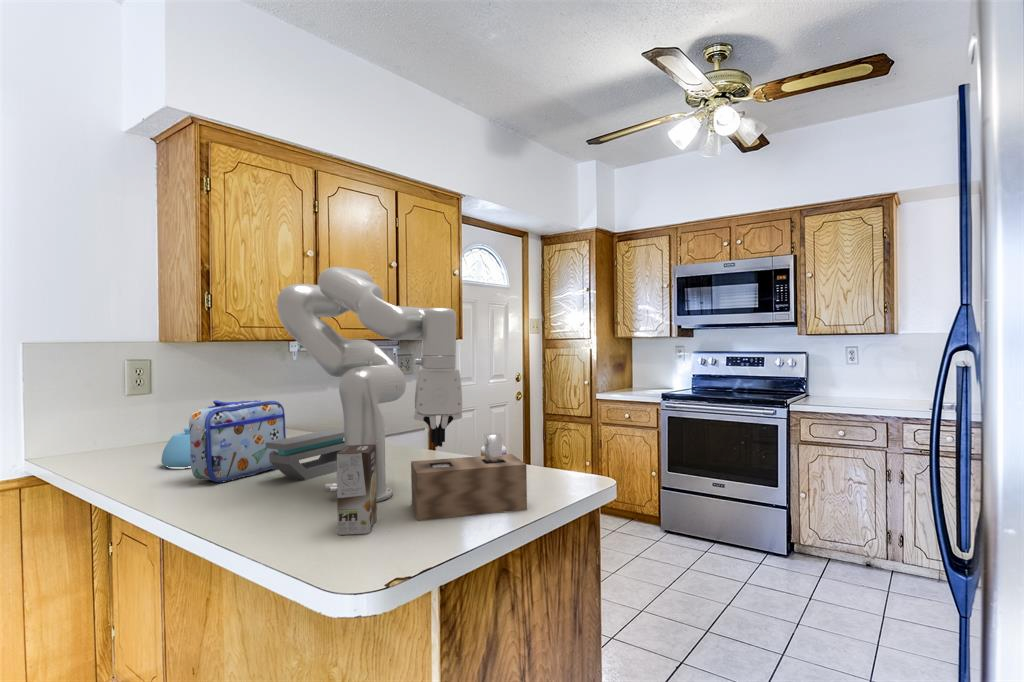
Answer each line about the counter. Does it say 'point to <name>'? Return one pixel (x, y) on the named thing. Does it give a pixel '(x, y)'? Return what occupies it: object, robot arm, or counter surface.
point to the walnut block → (467, 487)
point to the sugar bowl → (177, 450)
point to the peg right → (493, 448)
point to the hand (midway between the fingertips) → (437, 445)
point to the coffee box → (356, 489)
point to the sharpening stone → (307, 454)
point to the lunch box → (234, 438)
